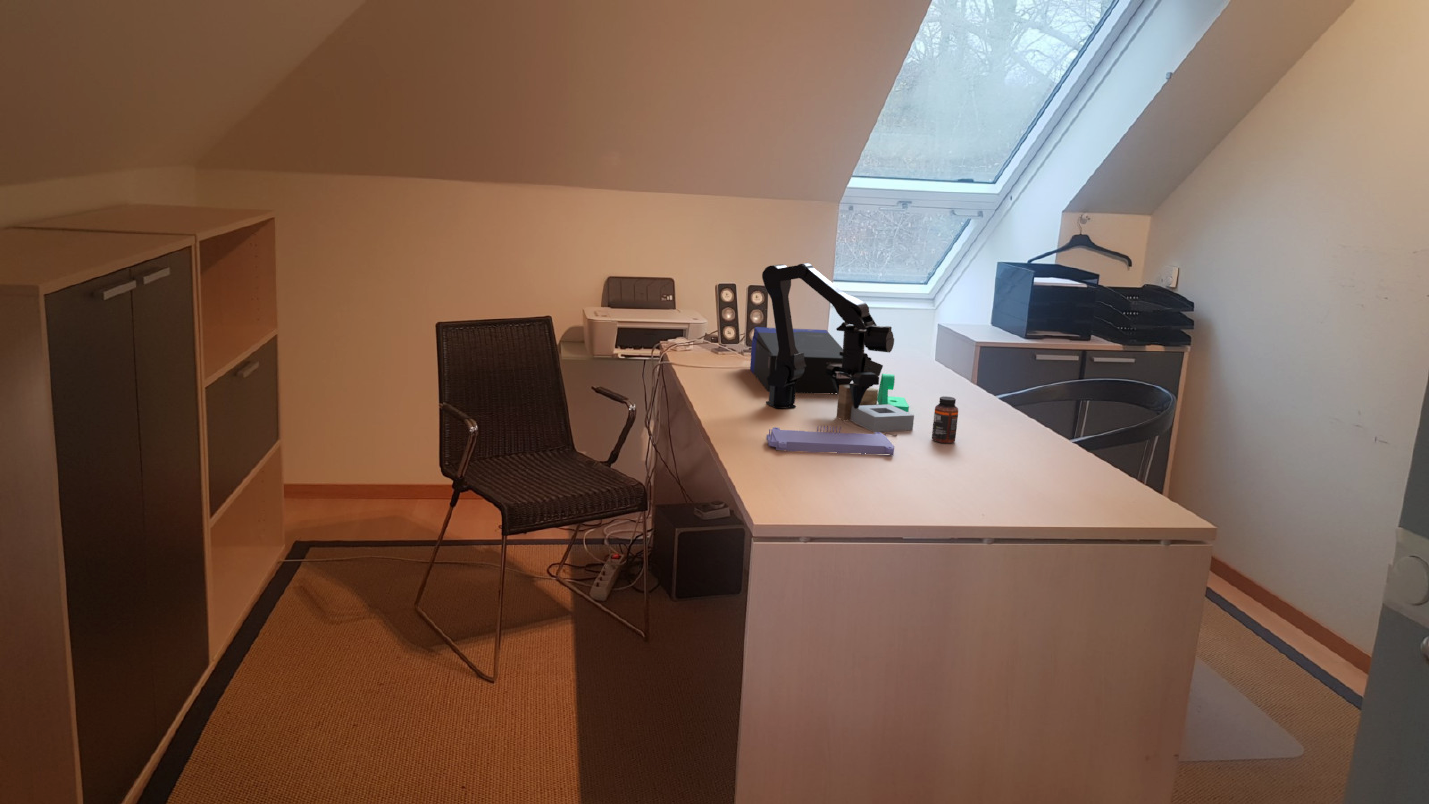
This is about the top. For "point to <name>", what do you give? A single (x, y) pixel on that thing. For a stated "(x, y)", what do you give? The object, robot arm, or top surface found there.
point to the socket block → (882, 418)
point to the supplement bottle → (945, 420)
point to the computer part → (829, 441)
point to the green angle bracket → (884, 399)
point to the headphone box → (811, 342)
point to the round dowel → (869, 397)
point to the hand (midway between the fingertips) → (849, 406)
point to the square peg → (844, 403)
